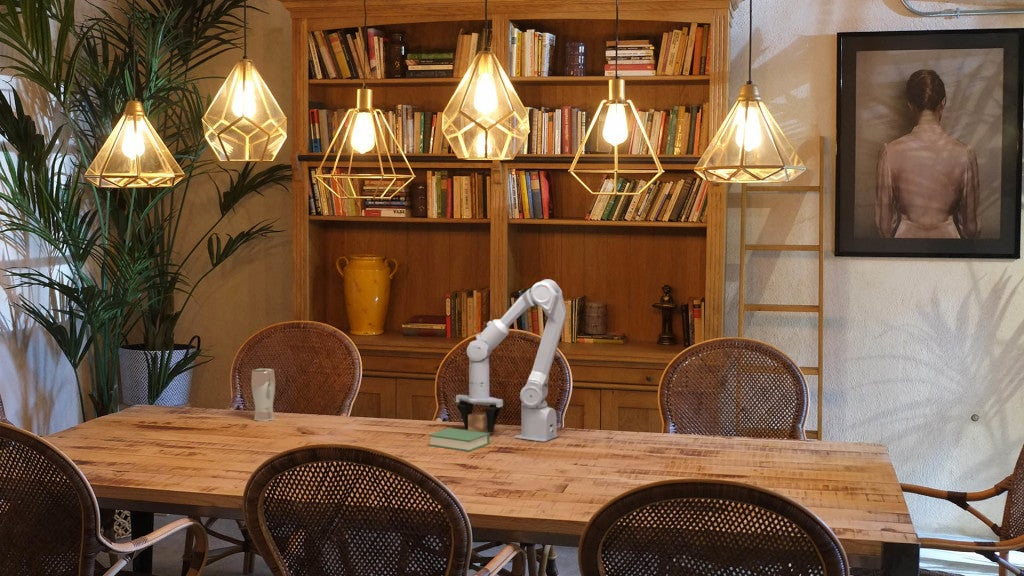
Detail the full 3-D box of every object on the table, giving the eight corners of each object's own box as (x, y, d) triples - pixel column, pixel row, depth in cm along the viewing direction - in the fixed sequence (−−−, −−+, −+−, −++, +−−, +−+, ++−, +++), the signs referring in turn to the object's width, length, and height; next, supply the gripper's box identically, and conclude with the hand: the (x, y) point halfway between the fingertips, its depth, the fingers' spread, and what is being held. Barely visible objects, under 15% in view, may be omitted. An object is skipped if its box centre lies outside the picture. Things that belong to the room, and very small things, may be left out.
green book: (489, 444, 285) (489, 433, 285) (469, 451, 277) (469, 440, 276) (450, 438, 292) (450, 427, 292) (429, 445, 283) (429, 434, 283)
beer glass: (263, 422, 312) (262, 372, 311) (247, 420, 316) (246, 370, 315) (280, 418, 318) (279, 369, 317) (264, 415, 322) (263, 367, 321)
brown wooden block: (490, 434, 297) (490, 413, 297) (481, 437, 293) (481, 416, 293) (476, 432, 300) (476, 411, 299) (468, 435, 296) (467, 414, 295)
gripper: (449, 381, 295) (450, 429, 297) (493, 386, 288) (493, 435, 289) (463, 378, 301) (463, 424, 303) (506, 382, 294) (506, 430, 295)
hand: (479, 429), depth 296 cm, fingers open, 7 cm apart
